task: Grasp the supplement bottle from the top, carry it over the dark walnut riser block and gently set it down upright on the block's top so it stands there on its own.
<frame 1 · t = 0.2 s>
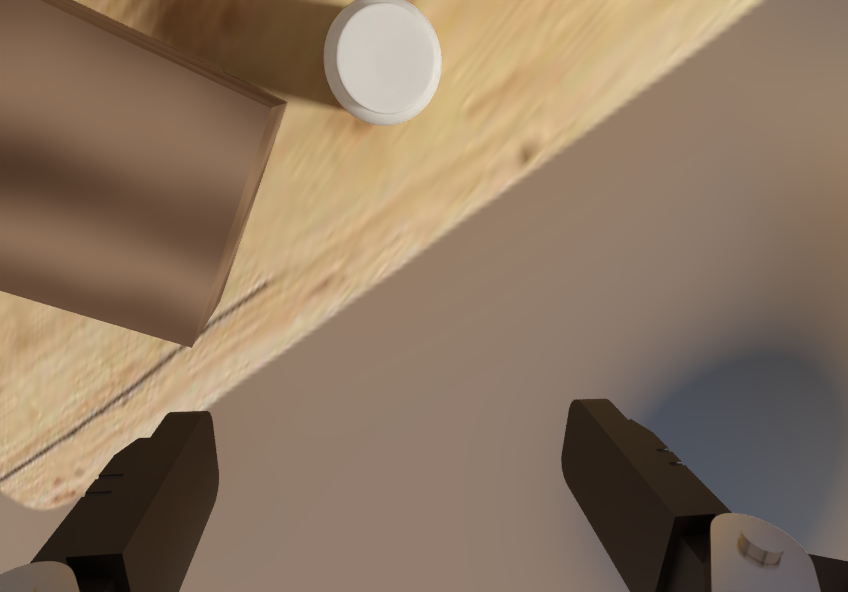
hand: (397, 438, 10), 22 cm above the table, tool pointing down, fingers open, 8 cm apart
supplement bottle: (377, 67, 27), on the table
walnut riser: (132, 163, 27), on the table
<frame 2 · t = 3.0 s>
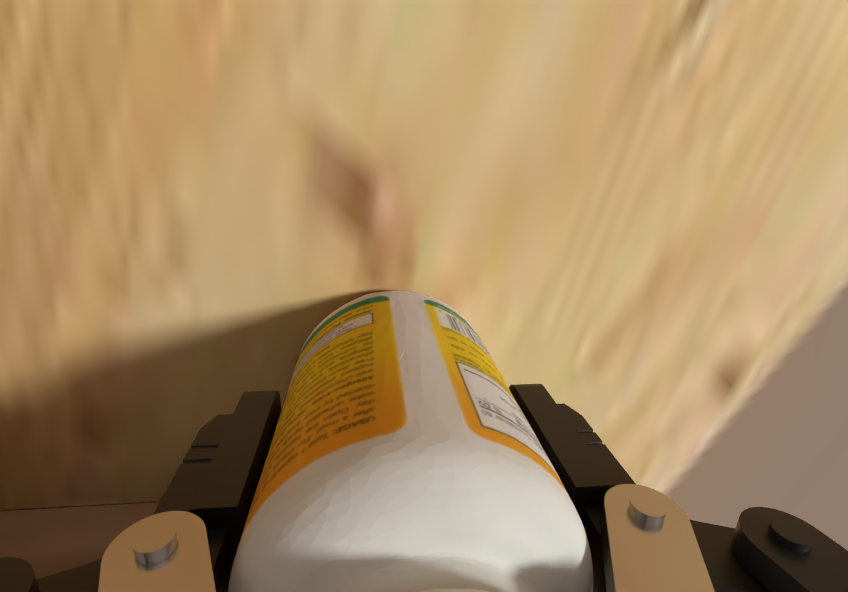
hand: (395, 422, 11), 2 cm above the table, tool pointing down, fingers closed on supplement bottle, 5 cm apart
supplement bottle: (390, 371, 13), on the table, touching gripper
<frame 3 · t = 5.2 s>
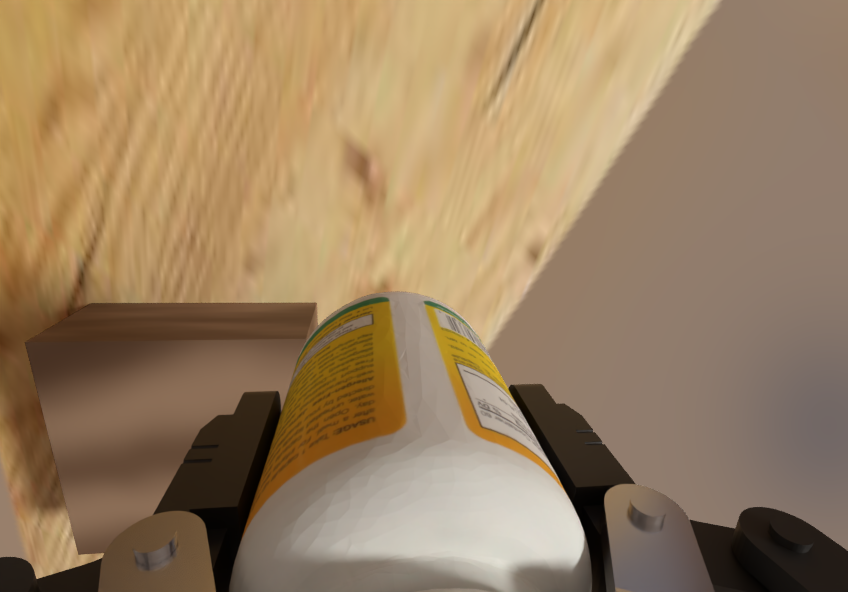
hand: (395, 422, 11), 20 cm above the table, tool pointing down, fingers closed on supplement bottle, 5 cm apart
supplement bottle: (390, 371, 13), point 18 cm above the table, touching gripper
walnut riser: (217, 397, 32), on the table
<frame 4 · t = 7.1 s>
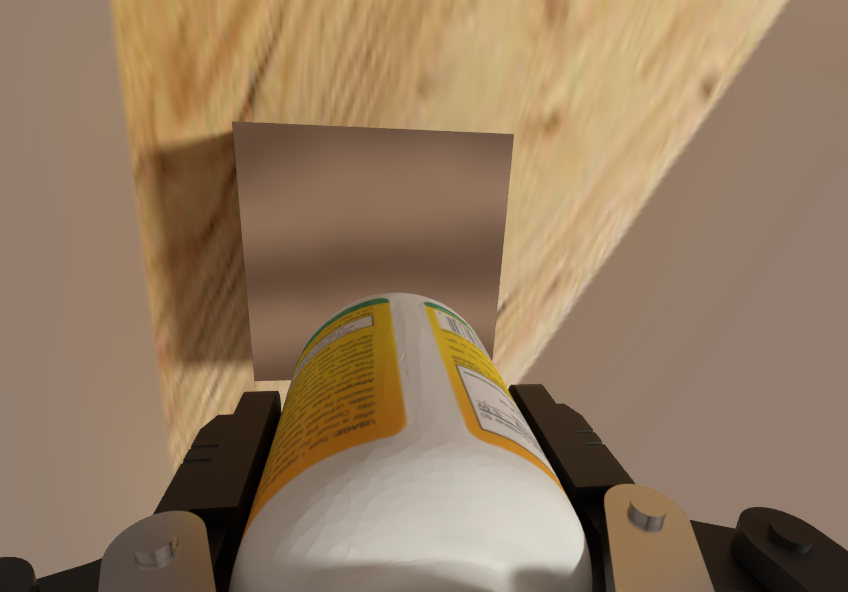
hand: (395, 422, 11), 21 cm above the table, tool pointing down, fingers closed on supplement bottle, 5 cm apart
supplement bottle: (390, 372, 13), point 19 cm above the table, touching gripper
walnut riser: (374, 241, 31), on the table
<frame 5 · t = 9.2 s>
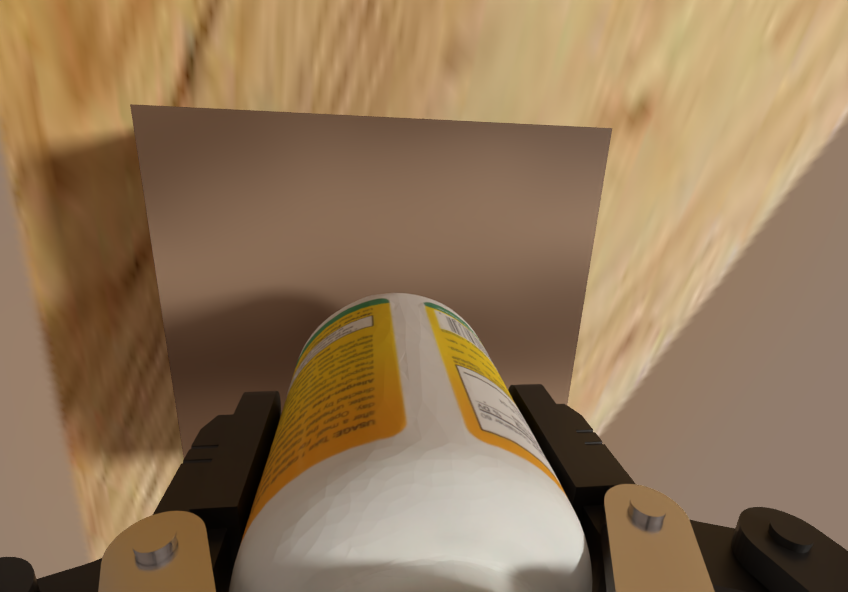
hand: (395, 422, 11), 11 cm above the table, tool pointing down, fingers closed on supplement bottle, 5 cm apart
supplement bottle: (390, 373, 13), point 9 cm above the table, touching gripper
walnut riser: (378, 284, 21), on the table
when the fingers open (9 cm above the table, at t = 11.2 s): supplement bottle stays where it is, resting on walnut riser.
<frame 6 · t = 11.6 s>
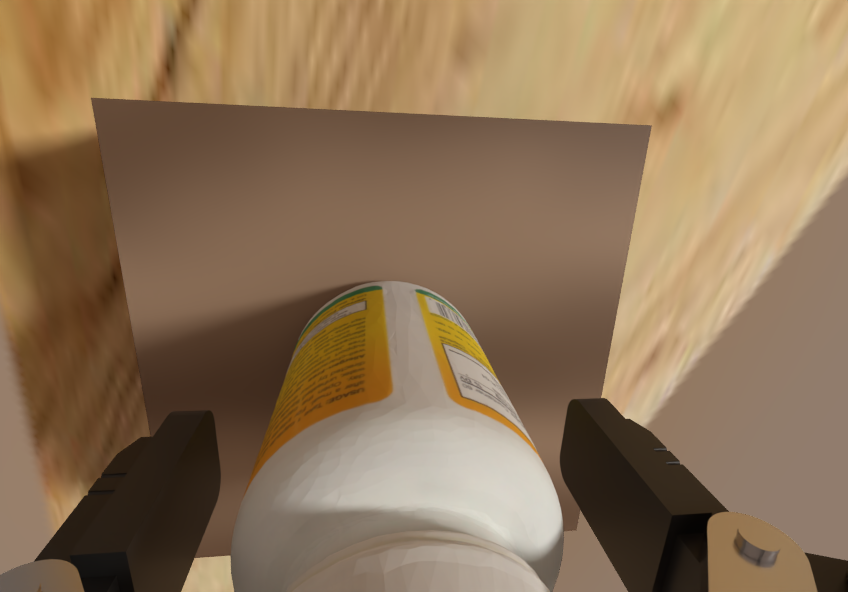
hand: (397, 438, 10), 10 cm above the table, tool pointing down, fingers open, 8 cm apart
supplement bottle: (385, 358, 14), point 6 cm above the table, touching walnut riser
walnut riser: (381, 298, 19), on the table
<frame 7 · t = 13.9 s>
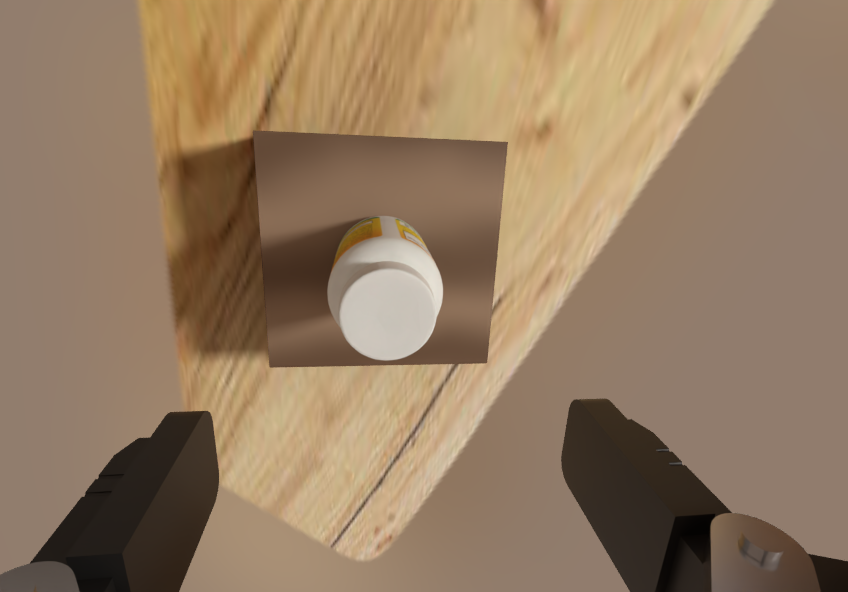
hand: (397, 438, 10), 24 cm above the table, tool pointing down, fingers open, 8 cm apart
supplement bottle: (381, 258, 28), point 6 cm above the table, touching walnut riser
walnut riser: (379, 239, 33), on the table
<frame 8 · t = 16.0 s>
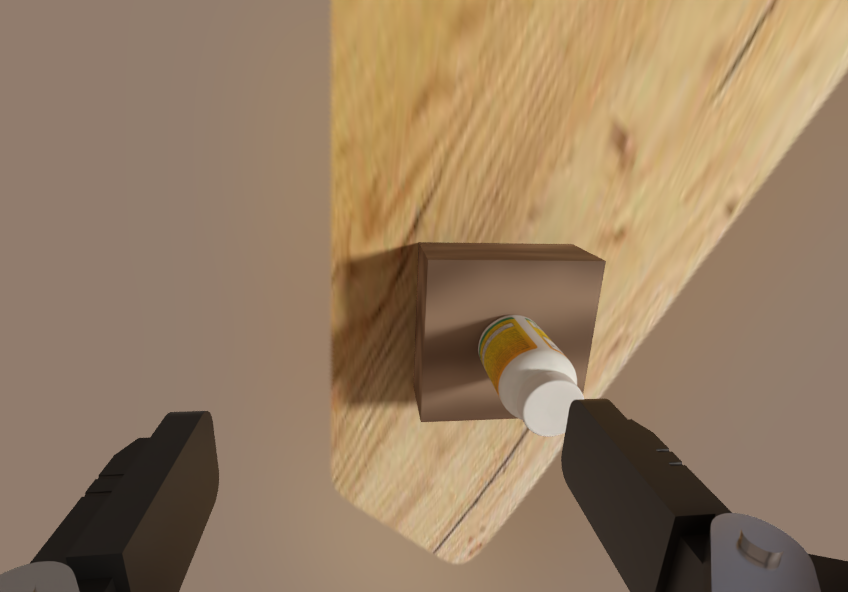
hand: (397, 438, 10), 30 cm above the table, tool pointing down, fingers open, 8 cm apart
supplement bottle: (508, 342, 37), point 6 cm above the table, touching walnut riser
walnut riser: (490, 317, 43), on the table
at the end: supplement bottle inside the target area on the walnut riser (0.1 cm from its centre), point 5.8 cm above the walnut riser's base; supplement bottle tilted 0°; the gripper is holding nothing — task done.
